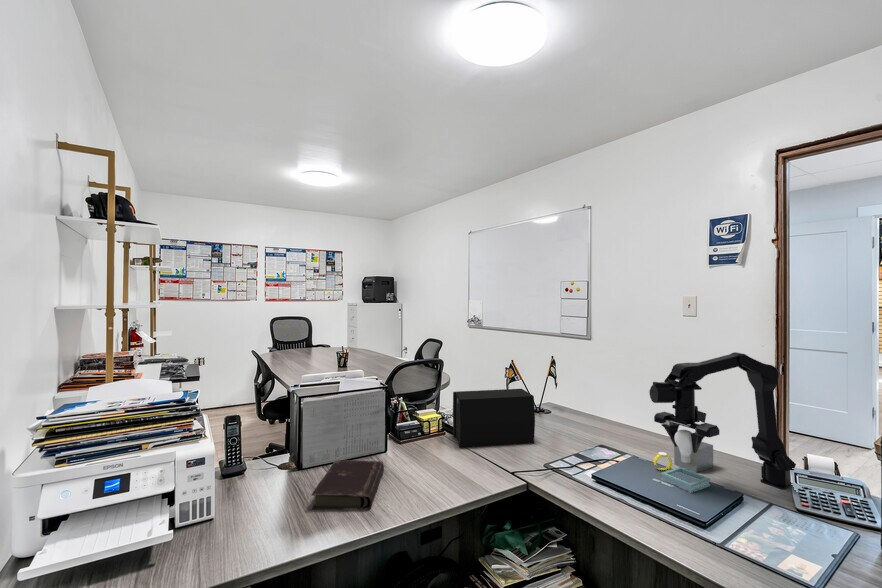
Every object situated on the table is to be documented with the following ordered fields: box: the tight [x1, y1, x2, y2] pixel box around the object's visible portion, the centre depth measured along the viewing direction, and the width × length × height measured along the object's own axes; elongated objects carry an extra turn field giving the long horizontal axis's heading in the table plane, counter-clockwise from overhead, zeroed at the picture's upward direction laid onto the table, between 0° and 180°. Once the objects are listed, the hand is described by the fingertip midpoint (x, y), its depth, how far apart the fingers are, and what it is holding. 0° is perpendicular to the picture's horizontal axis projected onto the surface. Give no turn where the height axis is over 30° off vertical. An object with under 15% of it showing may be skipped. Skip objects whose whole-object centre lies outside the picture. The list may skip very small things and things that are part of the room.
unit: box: [673, 440, 714, 474], centre depth 148 cm, size 8×10×9 cm
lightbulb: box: [674, 429, 693, 464], centre depth 134 cm, size 6×6×11 cm
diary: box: [311, 459, 385, 511], centre depth 131 cm, size 19×25×5 cm
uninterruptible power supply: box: [452, 388, 536, 449], centre depth 176 cm, size 16×34×20 cm, turn 99°
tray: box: [660, 466, 711, 494], centre depth 134 cm, size 10×10×2 cm
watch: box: [653, 451, 673, 472], centre depth 144 cm, size 6×3×6 cm, turn 90°
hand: (685, 449), depth 134 cm, fingers closed on lightbulb, 6 cm apart
